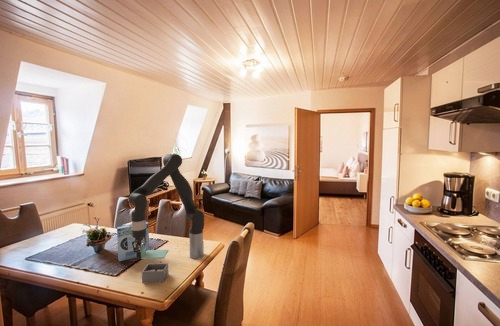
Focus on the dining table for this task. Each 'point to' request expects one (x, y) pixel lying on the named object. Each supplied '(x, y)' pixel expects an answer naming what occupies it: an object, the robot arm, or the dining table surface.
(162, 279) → the tub
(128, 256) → the gum box
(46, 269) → the dining table surface
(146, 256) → the lid
